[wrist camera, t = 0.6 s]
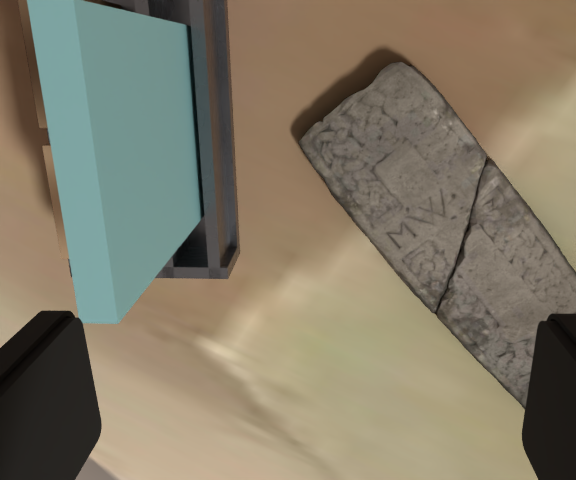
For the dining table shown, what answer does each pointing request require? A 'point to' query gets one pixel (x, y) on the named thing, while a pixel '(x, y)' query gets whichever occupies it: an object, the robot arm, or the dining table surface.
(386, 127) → the stone slab
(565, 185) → the dining table surface
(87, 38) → the teal board
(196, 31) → the metal rack
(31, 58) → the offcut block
